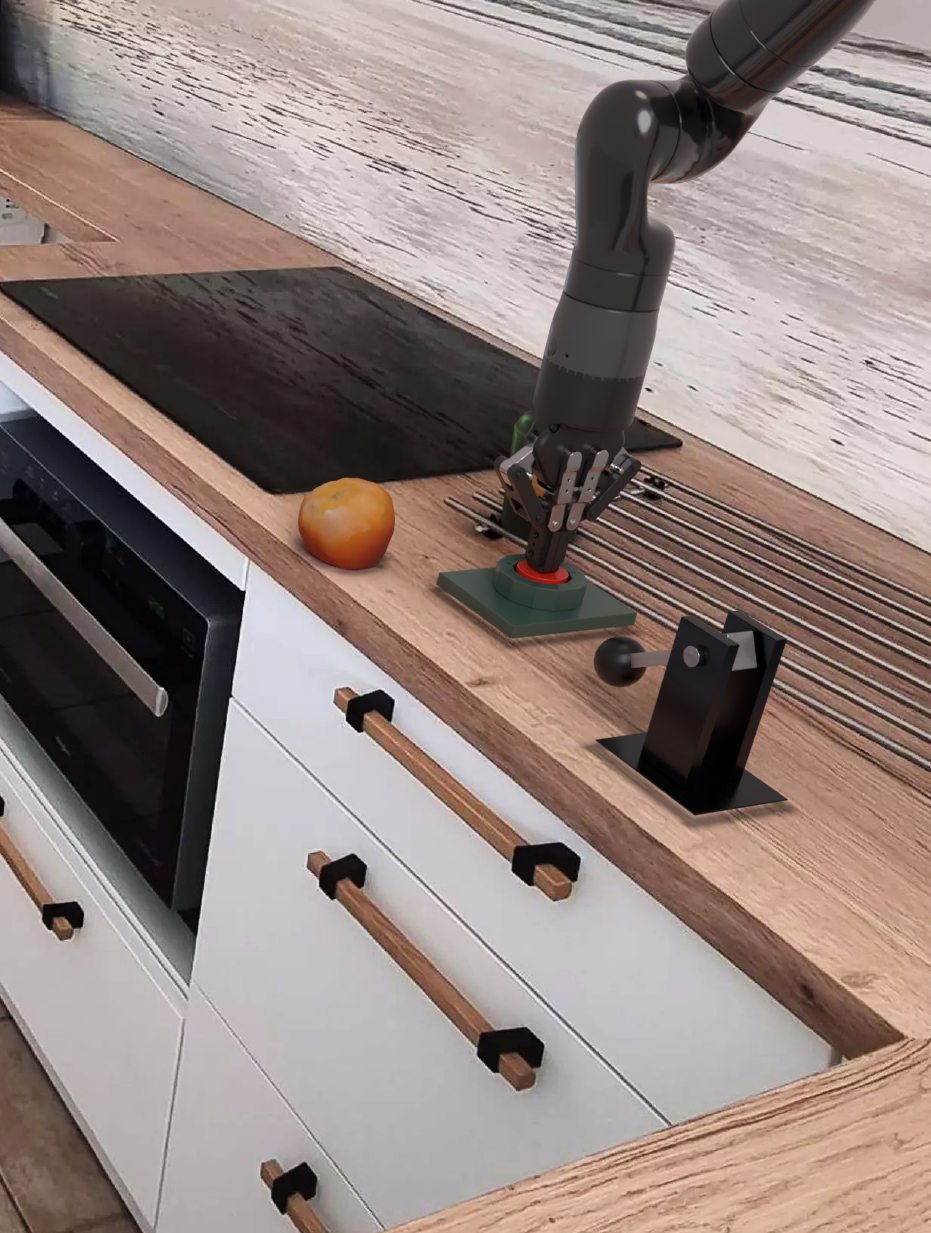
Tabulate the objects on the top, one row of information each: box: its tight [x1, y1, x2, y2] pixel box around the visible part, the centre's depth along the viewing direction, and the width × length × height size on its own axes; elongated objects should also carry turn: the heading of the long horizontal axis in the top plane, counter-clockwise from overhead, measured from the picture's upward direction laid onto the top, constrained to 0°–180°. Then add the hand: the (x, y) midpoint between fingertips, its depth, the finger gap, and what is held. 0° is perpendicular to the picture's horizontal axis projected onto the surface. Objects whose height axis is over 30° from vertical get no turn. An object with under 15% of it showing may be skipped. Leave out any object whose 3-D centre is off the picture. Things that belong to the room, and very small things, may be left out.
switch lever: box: [593, 631, 757, 688], centre depth 121 cm, size 13×4×4 cm, turn 22°
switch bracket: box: [595, 609, 789, 816], centre depth 118 cm, size 10×8×12 cm
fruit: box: [297, 477, 396, 571], centre depth 148 cm, size 8×8×8 cm
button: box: [516, 560, 568, 584], centre depth 141 cm, size 4×4×2 cm
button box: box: [436, 553, 638, 640], centre depth 142 cm, size 12×10×4 cm
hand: (541, 568), depth 141 cm, fingers closed
